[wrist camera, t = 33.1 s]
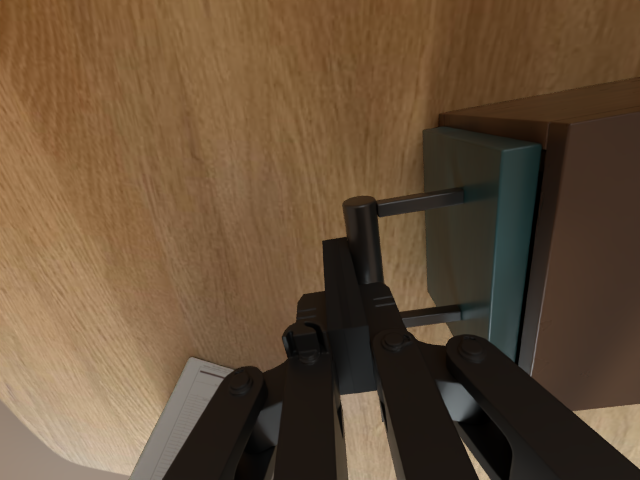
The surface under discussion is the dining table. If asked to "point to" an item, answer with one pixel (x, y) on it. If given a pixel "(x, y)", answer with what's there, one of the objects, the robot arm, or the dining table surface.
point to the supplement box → (179, 417)
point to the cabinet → (580, 239)
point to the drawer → (464, 232)
